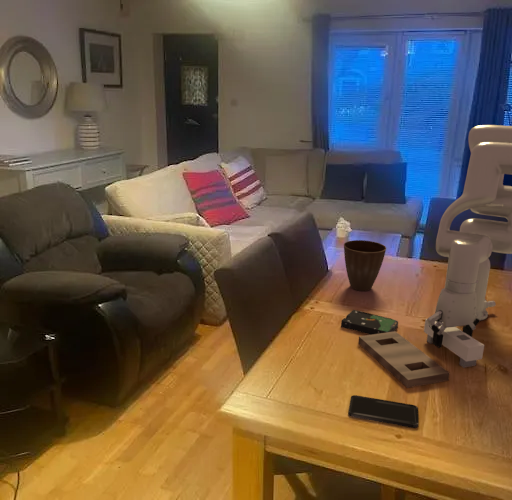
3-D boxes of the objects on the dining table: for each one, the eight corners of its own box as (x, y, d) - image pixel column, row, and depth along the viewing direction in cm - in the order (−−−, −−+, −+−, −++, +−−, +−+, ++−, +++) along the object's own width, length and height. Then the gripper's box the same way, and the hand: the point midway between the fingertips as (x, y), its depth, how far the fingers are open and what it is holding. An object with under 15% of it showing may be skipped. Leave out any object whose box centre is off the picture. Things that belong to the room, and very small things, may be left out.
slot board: (358, 343, 147) (358, 336, 146) (394, 338, 150) (395, 331, 150) (407, 387, 125) (408, 379, 124) (448, 380, 129) (449, 372, 128)
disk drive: (340, 329, 157) (388, 340, 150) (340, 320, 156) (389, 332, 149) (352, 317, 166) (398, 327, 158) (352, 309, 165) (398, 319, 158)
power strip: (437, 337, 152) (440, 316, 150) (480, 367, 135) (484, 344, 133) (422, 339, 150) (425, 318, 148) (464, 370, 134) (468, 346, 132)
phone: (418, 425, 110) (347, 413, 113) (418, 430, 110) (347, 417, 114) (418, 405, 117) (351, 394, 121) (417, 409, 117) (351, 398, 121)
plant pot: (387, 285, 191) (391, 244, 187) (373, 298, 179) (377, 254, 175) (350, 277, 199) (353, 237, 194) (334, 289, 187) (337, 247, 182)
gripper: (476, 277, 143) (467, 333, 148) (423, 283, 138) (416, 341, 143) (496, 287, 136) (486, 345, 141) (441, 293, 131) (433, 354, 136)
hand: (451, 343), depth 142 cm, fingers open, 9 cm apart
